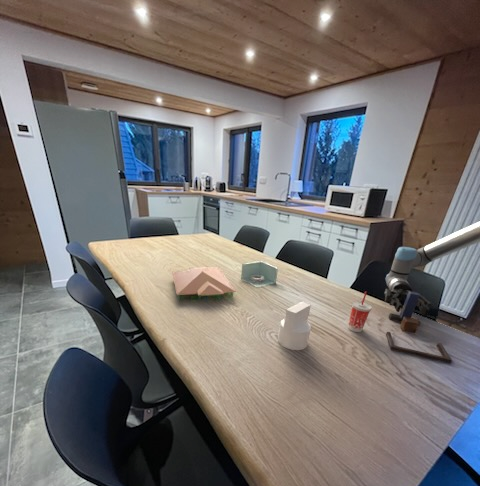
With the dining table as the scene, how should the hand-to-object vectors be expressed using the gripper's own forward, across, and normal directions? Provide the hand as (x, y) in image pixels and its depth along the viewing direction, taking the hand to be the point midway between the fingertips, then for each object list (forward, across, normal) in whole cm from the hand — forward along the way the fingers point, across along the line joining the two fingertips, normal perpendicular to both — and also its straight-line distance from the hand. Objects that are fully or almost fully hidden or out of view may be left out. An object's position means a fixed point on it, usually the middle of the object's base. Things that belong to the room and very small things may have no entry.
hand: (412, 310), depth 93 cm
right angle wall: (-18, +61, -7) cm, 64 cm away
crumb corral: (+14, 0, -6) cm, 15 cm away
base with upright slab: (+28, +37, -7) cm, 47 cm away
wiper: (-5, 0, -6) cm, 8 cm away
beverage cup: (+10, +18, -7) cm, 22 cm away
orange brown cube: (+2, 0, -6) cm, 7 cm away
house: (+3, +81, -7) cm, 81 cm away
